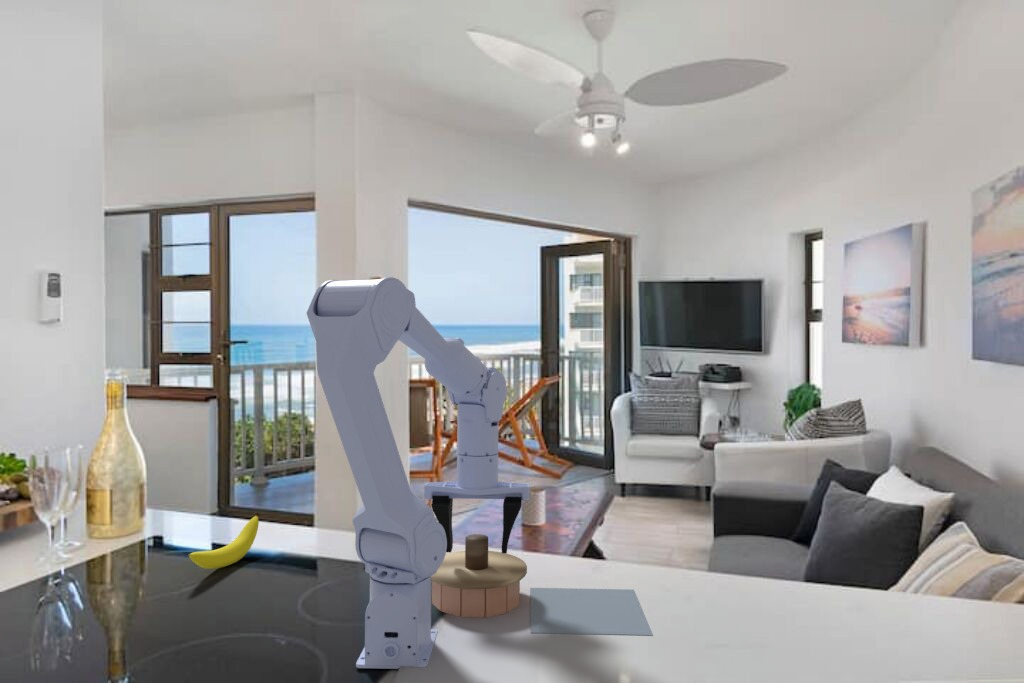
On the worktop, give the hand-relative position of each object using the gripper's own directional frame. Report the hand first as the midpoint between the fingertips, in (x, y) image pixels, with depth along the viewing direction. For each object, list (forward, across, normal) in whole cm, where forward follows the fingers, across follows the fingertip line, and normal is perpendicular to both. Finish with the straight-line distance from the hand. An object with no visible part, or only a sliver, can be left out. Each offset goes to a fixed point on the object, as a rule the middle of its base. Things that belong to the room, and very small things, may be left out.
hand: (476, 550), depth 94 cm
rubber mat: (+7, -15, +3) cm, 17 cm away
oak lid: (+3, 0, 0) cm, 3 cm away
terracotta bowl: (+7, 0, 0) cm, 7 cm away
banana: (+8, +41, -13) cm, 44 cm away
